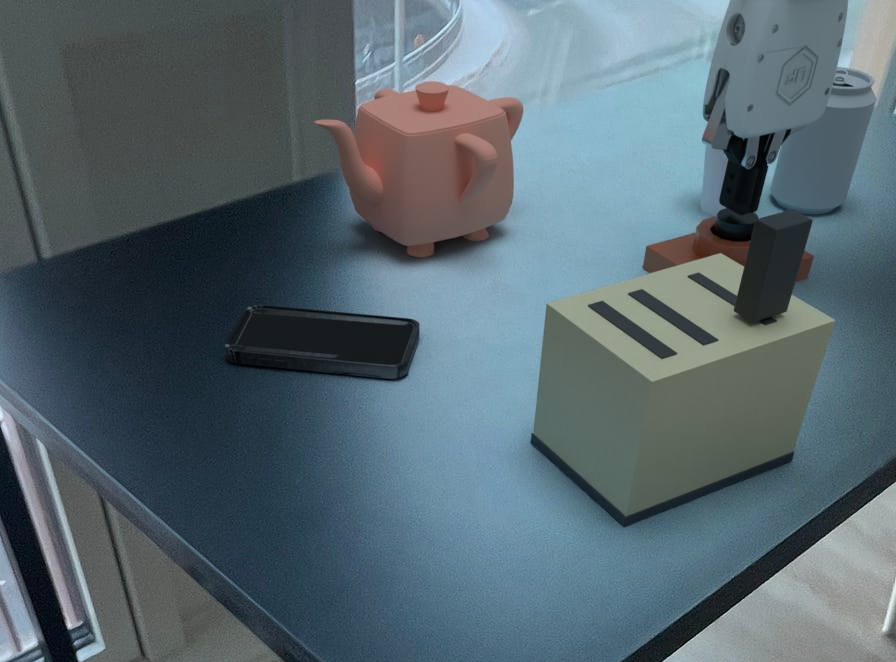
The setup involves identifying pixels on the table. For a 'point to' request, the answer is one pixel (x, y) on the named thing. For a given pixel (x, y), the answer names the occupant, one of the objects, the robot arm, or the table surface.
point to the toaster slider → (772, 265)
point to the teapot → (430, 163)
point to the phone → (324, 341)
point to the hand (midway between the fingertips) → (737, 207)
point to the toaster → (672, 386)
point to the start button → (734, 225)
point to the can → (826, 148)
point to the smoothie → (713, 180)
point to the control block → (704, 250)
